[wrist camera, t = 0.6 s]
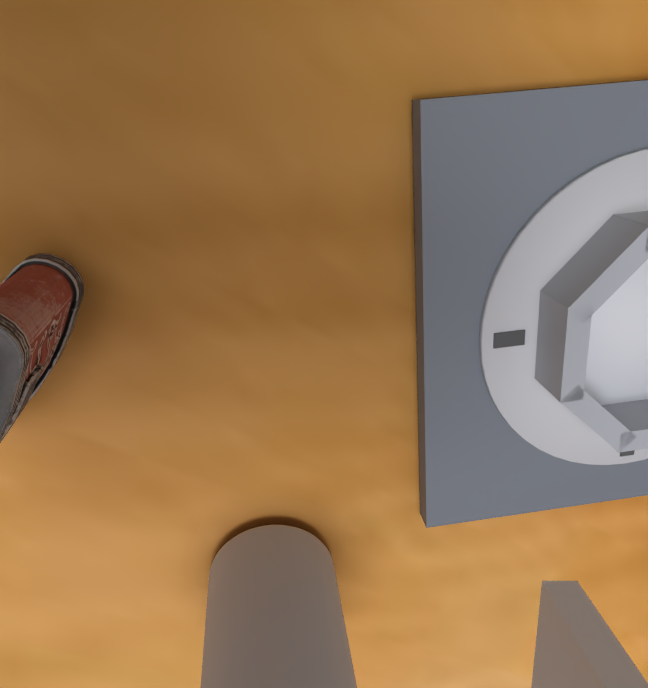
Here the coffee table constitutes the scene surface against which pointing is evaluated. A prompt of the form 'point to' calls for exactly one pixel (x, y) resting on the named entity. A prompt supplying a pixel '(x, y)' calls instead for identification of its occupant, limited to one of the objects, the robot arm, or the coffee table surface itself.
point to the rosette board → (531, 299)
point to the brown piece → (34, 327)
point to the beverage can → (275, 614)
